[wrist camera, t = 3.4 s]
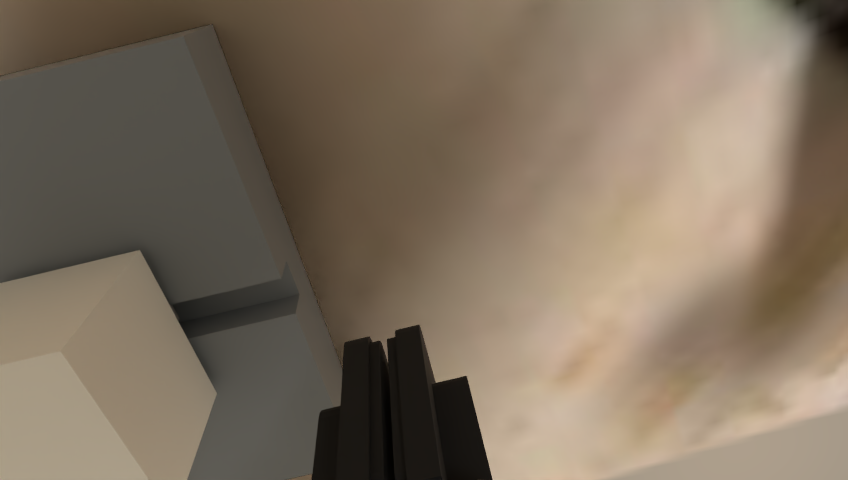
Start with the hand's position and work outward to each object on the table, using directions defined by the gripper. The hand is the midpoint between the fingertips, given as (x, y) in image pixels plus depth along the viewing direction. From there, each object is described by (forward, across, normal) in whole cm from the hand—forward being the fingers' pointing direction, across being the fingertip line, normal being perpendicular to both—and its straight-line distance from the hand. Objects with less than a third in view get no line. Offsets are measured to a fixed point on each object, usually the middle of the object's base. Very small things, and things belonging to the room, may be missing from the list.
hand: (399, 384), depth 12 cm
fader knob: (+4, +8, -1) cm, 9 cm away
